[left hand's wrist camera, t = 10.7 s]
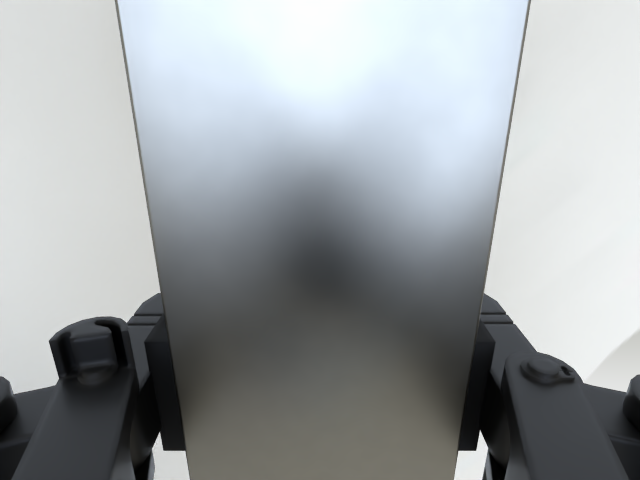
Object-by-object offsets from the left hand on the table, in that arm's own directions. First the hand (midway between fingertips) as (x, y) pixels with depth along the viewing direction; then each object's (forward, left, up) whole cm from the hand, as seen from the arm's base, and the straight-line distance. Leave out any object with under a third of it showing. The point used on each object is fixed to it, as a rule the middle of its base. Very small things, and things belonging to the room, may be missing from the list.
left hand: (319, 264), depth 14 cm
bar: (+13, +1, -1) cm, 13 cm away
